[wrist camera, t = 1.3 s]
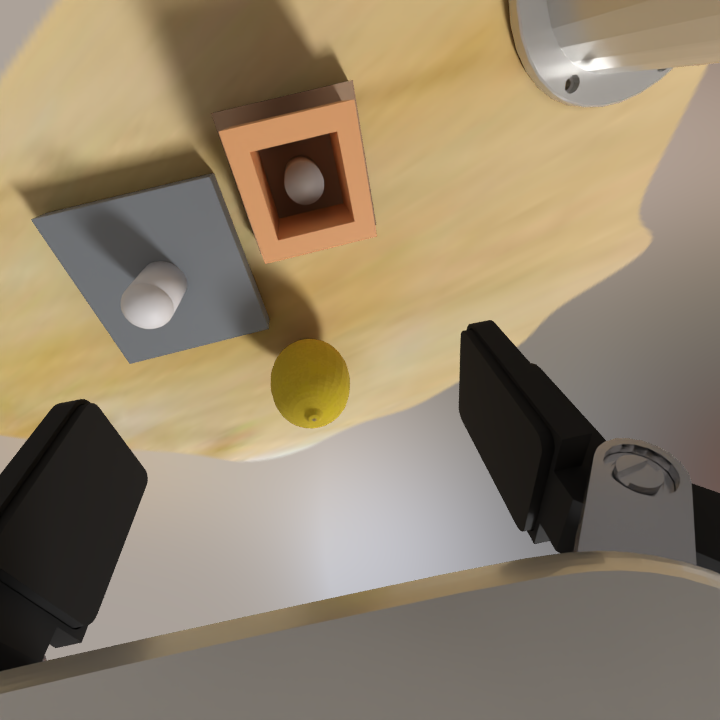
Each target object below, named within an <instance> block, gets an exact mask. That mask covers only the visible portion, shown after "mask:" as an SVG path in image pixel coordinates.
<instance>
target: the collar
mask: <svg viewBox="0 0 720 720" xmlns="http://www.w3.org/2000/svg"><path fill="white" fill-rule="evenodd" d="M328 133H329V135H330V140H331V145H332V149H333V154H334V159H335V164H336V169H337V174H338V179H339V183H340V188H341V193H342V198H343V203H341V204H337V205H333V206H329V207H325V208H321V209H317V210H313V211H309V212H305V213H300V214H296V215H292V216H288V217H284V218H280V219H279V217H278V213H277V210H276V207H275V204H274V200H273V197H272V194H271V191H270V187H269V184H268V181H267V178H266V174H265V171H264V168H263V165H262V161H261V158H260V155H259V152H258V150H261V149H265V148H270V147H274V146H278V145H282V144H286V143H291V142H295V141H299V140H303V139H307V138H311V137H316V136H320V135H324V134H328ZM219 134H220V137H221V140H222V143H223V146H224V149H225V151H226V154H227V157H228V160H229V163H230V166H231V168H232V171H233V174H234V177H235V180H236V183H237V185H238V188H239V191H240V194H241V197H242V200H243V202H244V205H245V208H246V211H247V214H248V217H249V219H250V222H251V225H252V228H253V231H254V233H255V236H256V239H257V242H258V245H259V248H260V250H261V253H262V256H263V259H264V262H265V264H267V263H271V262H275V261H279V260H284V259H288V258H292V257H296V256H300V255H304V254H308V253H312V252H316V251H320V250H324V249H328V248H332V247H336V246H340V245H344V244H348V243H352V242H356V241H360V240H364V239H369V238H373V237H377V233H376V227H375V221H374V215H373V209H372V203H371V197H370V191H369V185H368V178H367V172H366V166H365V160H364V154H363V148H362V142H361V136H360V130H359V124H358V118H357V112H356V105H355V99H354V100H343V101H338V102H334V103H330V104H325V105H321V106H317V107H313V108H308V109H304V110H300V111H296V112H292V113H287V114H283V115H279V116H275V117H270V118H266V119H262V120H258V121H254V122H249V123H245V124H241V125H237V126H232V127H229V128H227V129H224V130H222V131H219Z"/></svg>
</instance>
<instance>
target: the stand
mask: <svg viewBox="0 0 720 720" xmlns="http://www.w3.org/2000/svg"><path fill="white" fill-rule="evenodd" d="M354 99H355V105H356V112H357V118H358V124H359V130H360V136H361V142H362V148H363V154H364V160H365V166H366V172H367V165H366V159H365V153H364V147H363V141H362V135H361V129H360V122H359V116H358V110H357V104H356V98H355V92H354V86H353V80H351V81H346V82H342V83H338V84H334V85H329V86H325V87H321V88H317V89H312V90H308V91H304V92H300V93H295V94H291V95H287V96H283V97H279V98H274V99H270V100H266V101H262V102H257V103H253V104H249V105H245V106H240V107H236V108H232V109H228V110H223V111H219V112H215V113H211V115H212V118H213V120H214V123H215V126H216V129H217V132H218V134H219V131H222V130H224V129H227V128H229V127H232V126H237V125H241V124H245V123H249V122H254V121H258V120H262V119H266V118H270V117H275V116H279V115H283V114H287V113H292V112H296V111H300V110H304V109H308V108H313V107H317V106H321V105H325V104H330V103H334V102H338V101H343V100H354ZM219 137H220V134H219ZM220 140H221V137H220ZM221 143H222V140H221ZM222 146H223V143H222ZM223 149H224V146H223ZM224 151H225V149H224ZM258 152H259V155H260V158H261V161H262V165H263V168H264V171H265V174H266V178H267V181H268V184H269V187H270V191H271V194H272V197H273V200H274V204H275V207H276V210H277V213H278V217H279V219H280V218H284V217H288V216H292V215H296V214H300V213H305V212H309V211H313V210H317V209H321V208H325V207H329V206H333V205H337V204H341V203H343V198H342V193H341V188H340V183H339V179H338V174H337V169H336V164H335V159H334V154H333V149H332V145H331V140H330V135H329V133H328V134H324V135H320V136H316V137H311V138H307V139H303V140H299V141H295V142H291V143H286V144H282V145H278V146H274V147H270V148H265V149H261V150H258ZM225 154H226V151H225ZM226 157H227V154H226ZM227 160H228V157H227ZM228 163H229V160H228ZM229 165H230V163H229ZM230 168H231V166H230ZM231 171H232V168H231ZM232 174H233V171H232ZM233 177H234V174H233ZM367 178H368V172H367ZM234 180H235V177H234ZM235 182H236V180H235ZM236 185H237V183H236ZM368 185H369V191H370V197H371V203H372V209H373V215H374V208H373V202H372V196H371V190H370V184H369V178H368ZM237 188H238V185H237ZM238 191H239V188H238ZM239 194H240V191H239ZM240 196H241V194H240ZM241 199H242V197H241ZM242 202H243V200H242ZM243 205H244V202H243ZM244 208H245V205H244ZM245 211H246V208H245ZM246 213H247V211H246ZM247 216H248V214H247ZM248 219H249V217H248ZM374 221H375V215H374ZM249 222H250V219H249ZM250 225H251V222H250ZM375 225H376V221H375ZM251 227H252V225H251ZM252 230H253V228H252ZM253 233H254V231H253ZM254 236H255V233H254ZM255 239H256V236H255ZM256 242H257V239H256ZM257 244H258V242H257ZM258 247H259V245H258ZM259 250H260V248H259ZM260 253H261V250H260Z"/></svg>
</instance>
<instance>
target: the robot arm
mask: <svg viewBox="0 0 720 720" xmlns="http://www.w3.org/2000/svg"><path fill="white" fill-rule="evenodd" d="M509 11H510V24H511V29H512V33H513V38H514V42H515V46H516V50H517V53H518V55H519V57H520V59H521V62H522V64H523V66H524V69H525V71H526V72H527V74H528V75H529V76H530V78H531V79H532V80H533V82H534V83H535V85H536V86H537V87H538V88H539V89H540V90H542V91H543V92H544V93H545V94H547V95H548V96H549V97H550V98H552V99H554V100H556V101H559V102H561V103H563V104H566V105H570V106H578V107H603V106H607V105H612V104H616V103H620V102H623V101H625V100H627V99H629V98H631V97H633V96H636V95H638V94H640V93H642V92H643V91H645V90H646V89H648V88H649V87H650V86H652V85H653V84H655V83H656V82H658V81H659V80H661V79H662V78H663V77H664V76H665V75H666V74H667V73H668V72H669V71H671V70H672V69H673V68H674V67H684V66H694V65H704V64H714V63H720V0H509ZM565 84H566V86H565ZM459 383H460V384H459V412H460V416H461V419H462V421H463V423H464V425H465V427H466V429H467V431H468V433H469V435H470V437H471V438H472V441H473V442H474V444H475V446H476V448H477V450H478V452H479V454H480V456H481V458H482V460H483V462H484V464H485V466H486V467H487V469H488V471H489V473H490V475H491V477H492V479H493V481H494V483H495V485H496V487H497V489H498V491H499V493H500V494H501V496H502V498H503V500H504V502H505V504H506V506H507V508H508V510H509V512H510V514H511V516H512V518H513V520H514V522H515V523H516V525H517V527H518V528H519V530H520V531H527V532H528V533H529V535H530V537H531V538H532V541H533V543H534V544H537V543H542V542H547V541H551V543H552V545H553V547H554V548H555V550H556V551H557V552H559V553H560V554H553V555H546V556H540V557H532V558H525V559H520V560H515V561H510V562H504V563H499V564H494V565H489V566H484V567H479V568H474V569H468V570H463V571H459V572H453V573H448V574H443V575H438V576H433V577H429V578H424V579H419V580H415V581H410V582H405V583H401V584H396V585H391V586H386V587H382V588H377V589H372V590H368V591H363V592H358V593H353V594H349V595H344V596H340V597H335V598H330V599H325V600H321V601H316V602H311V603H307V604H302V605H298V606H293V607H288V608H284V609H279V610H275V611H270V612H266V613H261V614H257V615H251V616H247V617H242V618H238V619H233V620H229V621H224V622H219V623H215V624H210V625H206V626H201V627H196V628H192V629H188V630H183V631H178V632H174V633H169V634H165V635H160V636H155V637H151V638H146V639H142V640H138V641H133V642H129V643H124V644H120V645H115V646H111V647H106V648H102V649H97V650H93V651H88V652H84V653H80V654H75V655H70V656H66V657H62V658H57V659H53V660H48V661H47V660H46V657H45V652H46V650H47V648H48V646H49V644H50V645H52V646H53V647H55V648H58V647H63V646H68V645H72V644H76V643H81V642H82V640H83V637H84V635H85V632H86V630H87V627H88V625H89V624H91V623H92V622H93V621H94V619H95V618H96V616H97V614H98V611H99V608H100V606H101V603H102V600H103V598H104V595H105V592H106V590H107V587H108V585H109V582H110V580H111V577H112V574H113V572H114V569H115V566H116V564H117V561H118V559H119V556H120V553H121V551H122V548H123V546H124V543H125V540H126V538H127V535H128V532H129V530H130V527H131V524H132V522H133V519H134V517H135V514H136V511H137V509H138V506H139V504H140V501H141V498H142V496H143V493H144V491H145V488H146V485H147V481H148V480H147V479H148V477H147V473H146V470H145V469H144V467H143V466H142V465H141V463H140V462H139V461H138V459H137V458H136V457H135V456H134V454H133V453H132V451H131V450H130V449H129V447H128V446H127V445H126V443H125V442H124V440H123V439H122V438H121V436H120V435H119V434H118V432H117V431H116V430H115V428H114V427H113V426H112V424H111V423H110V422H109V420H108V419H107V418H106V416H105V415H104V413H103V412H102V411H101V409H100V408H99V407H98V406H97V405H96V404H94V403H90V402H89V401H87V400H85V399H80V400H75V401H69V402H64V403H59V404H57V405H55V406H54V407H53V408H52V409H51V410H50V411H49V413H48V414H47V415H46V417H45V418H44V419H43V420H42V422H41V423H40V424H39V425H38V427H37V428H36V429H35V431H34V432H33V433H32V434H31V436H30V437H29V438H28V440H27V441H26V442H25V444H24V445H23V446H22V447H21V448H20V450H19V451H18V452H17V454H16V455H15V456H14V457H13V459H12V460H11V461H10V463H9V464H8V465H7V466H6V468H5V469H4V470H3V472H2V473H1V474H0V720H720V493H718V492H715V491H712V490H709V489H706V488H703V487H700V486H697V485H695V484H692V483H691V480H690V476H689V473H688V472H687V470H686V469H685V468H684V466H683V465H682V464H681V462H679V461H678V460H677V459H676V458H675V457H674V456H672V455H671V454H670V453H668V452H666V451H665V450H663V449H661V448H659V447H658V446H656V445H653V444H650V443H647V442H645V441H642V440H635V439H630V438H615V439H612V440H608V441H606V440H605V439H604V438H603V437H602V436H601V434H600V433H599V432H598V431H597V430H596V429H595V428H594V427H593V426H592V425H591V423H590V422H589V421H588V420H587V419H586V418H585V417H584V416H583V415H582V414H581V412H580V411H579V410H578V409H577V408H576V407H575V406H574V405H573V404H572V402H571V401H569V399H568V398H567V397H566V396H565V395H564V394H563V393H562V392H561V390H560V389H559V388H558V387H557V386H556V385H555V384H554V383H553V382H552V381H551V379H550V378H549V377H548V376H547V375H546V374H545V373H544V372H543V371H542V370H541V368H539V367H538V366H537V365H536V364H532V363H530V362H529V361H528V360H527V359H526V358H525V357H524V355H523V354H522V353H521V352H520V351H519V350H518V349H517V347H516V346H515V345H514V344H513V343H512V342H511V341H510V340H509V338H508V337H507V336H506V335H505V334H504V333H503V332H502V331H501V329H500V328H499V327H498V326H497V325H496V324H495V323H494V322H493V321H492V320H488V321H483V322H478V323H473V324H469V325H468V327H467V330H466V331H462V333H461V345H460V382H459Z"/></svg>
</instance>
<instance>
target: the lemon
mask: <svg viewBox="0 0 720 720" xmlns="http://www.w3.org/2000/svg"><path fill="white" fill-rule="evenodd" d="M349 390H350V377H349V373H348V369H347V366H346V363H345V361H344V359H343V358H342V356H341V355H340V353H339V352H338V351H337V350H336V349H335V348H334V347H332V346H331V345H330V344H328V343H326V342H324V341H321V340H316V339H303V340H298V341H296V342H294V343H292V344H290V345H288V346H287V347H286V348H285V349H284V350H283V351H282V352H281V353H280V354H279V356H278V357H277V359H276V361H275V363H274V366H273V369H272V372H271V391H272V395H273V399H274V402H275V405H276V407H277V409H278V410H279V411H280V413H281V414H282V416H283V417H284V418H286V419H287V420H288V421H289V422H290V423H292V424H294V425H296V426H299V427H303V428H318V427H322V426H325V425H327V424H329V423H331V422H332V421H334V420H335V419H336V418H337V417H338V416H339V415H340V414H341V412H342V411H343V410H344V408H345V406H346V403H347V400H348V397H349Z"/></svg>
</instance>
